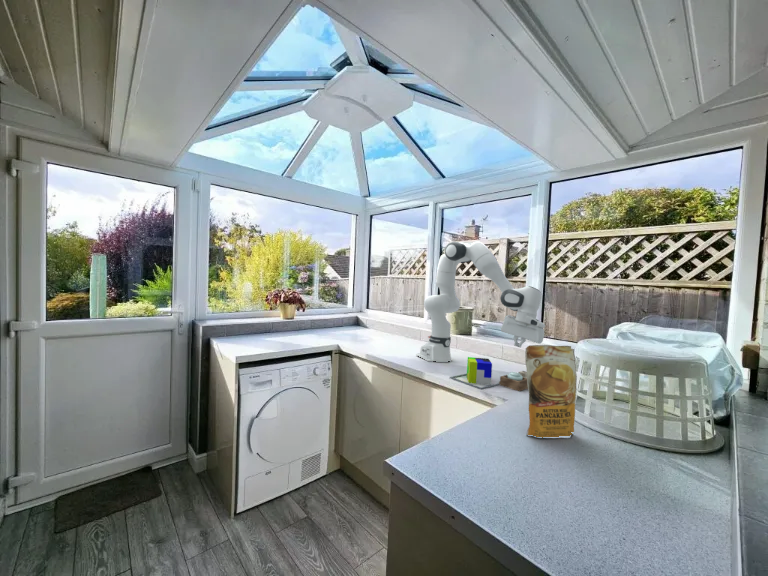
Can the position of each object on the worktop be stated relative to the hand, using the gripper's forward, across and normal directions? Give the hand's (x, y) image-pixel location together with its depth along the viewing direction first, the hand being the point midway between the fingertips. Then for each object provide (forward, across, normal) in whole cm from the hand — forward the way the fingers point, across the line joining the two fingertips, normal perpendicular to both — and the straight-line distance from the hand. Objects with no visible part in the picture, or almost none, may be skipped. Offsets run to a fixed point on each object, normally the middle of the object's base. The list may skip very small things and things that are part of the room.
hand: (517, 346), depth 157 cm
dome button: (+14, +6, -7) cm, 17 cm away
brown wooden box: (+17, +7, -3) cm, 18 cm away
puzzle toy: (+21, -7, -13) cm, 26 cm away
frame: (+21, -8, -14) cm, 26 cm away
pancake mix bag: (+20, +37, -43) cm, 60 cm away
